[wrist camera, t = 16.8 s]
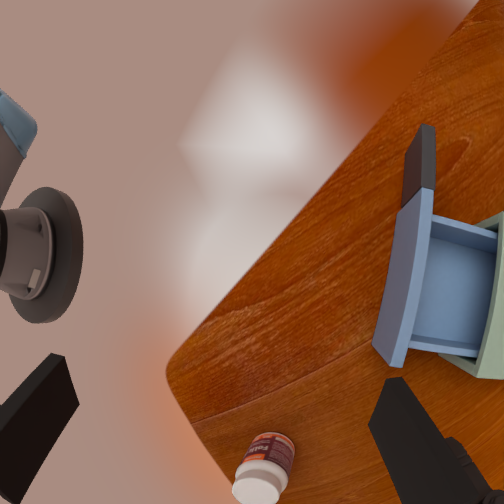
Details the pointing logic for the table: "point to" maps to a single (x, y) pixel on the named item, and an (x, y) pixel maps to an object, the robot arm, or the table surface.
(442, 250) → the blue drawer
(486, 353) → the green drawer housing
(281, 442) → the pill bottle
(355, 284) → the table surface
